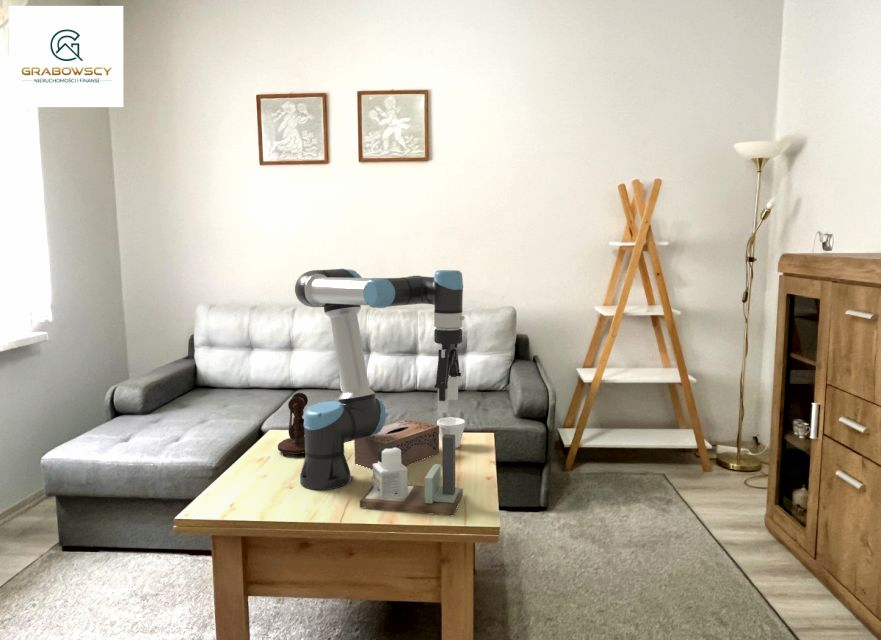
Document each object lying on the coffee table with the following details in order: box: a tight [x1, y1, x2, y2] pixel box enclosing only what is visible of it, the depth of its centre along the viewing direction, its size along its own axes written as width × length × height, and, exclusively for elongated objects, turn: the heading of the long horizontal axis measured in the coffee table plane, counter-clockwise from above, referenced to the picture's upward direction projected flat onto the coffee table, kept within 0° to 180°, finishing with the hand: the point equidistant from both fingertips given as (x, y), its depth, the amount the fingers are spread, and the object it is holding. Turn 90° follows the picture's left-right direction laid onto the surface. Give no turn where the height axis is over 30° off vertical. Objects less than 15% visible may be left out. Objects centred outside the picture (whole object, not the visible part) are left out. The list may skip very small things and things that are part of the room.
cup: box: [436, 417, 466, 449], centre depth 225 cm, size 10×10×9 cm
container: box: [372, 445, 409, 499], centre depth 177 cm, size 8×8×13 cm
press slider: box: [424, 434, 460, 504], centre depth 174 cm, size 8×11×17 cm
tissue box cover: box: [353, 418, 440, 470], centre depth 212 cm, size 26×14×10 cm, turn 140°
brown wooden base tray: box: [359, 484, 464, 516], centre depth 177 cm, size 26×14×2 cm, turn 78°
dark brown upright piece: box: [277, 392, 309, 457], centre depth 220 cm, size 15×15×20 cm
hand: (448, 405), depth 172 cm, fingers open, 13 cm apart
